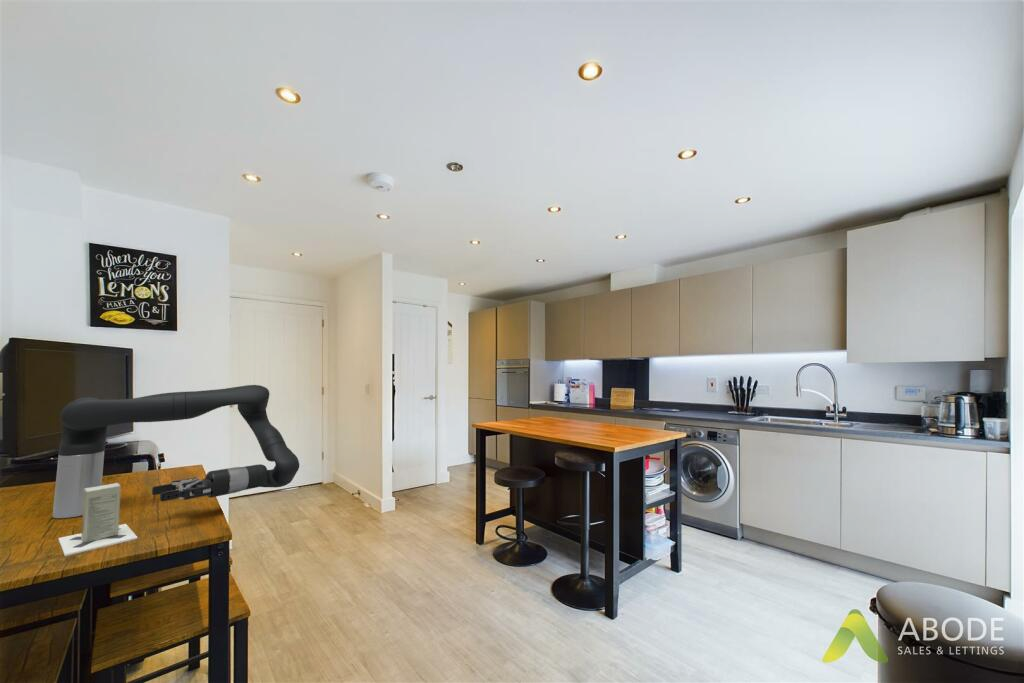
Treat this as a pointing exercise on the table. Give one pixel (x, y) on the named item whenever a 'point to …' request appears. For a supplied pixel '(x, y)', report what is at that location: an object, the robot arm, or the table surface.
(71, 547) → the letter card
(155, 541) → the table surface
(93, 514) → the skincare box
